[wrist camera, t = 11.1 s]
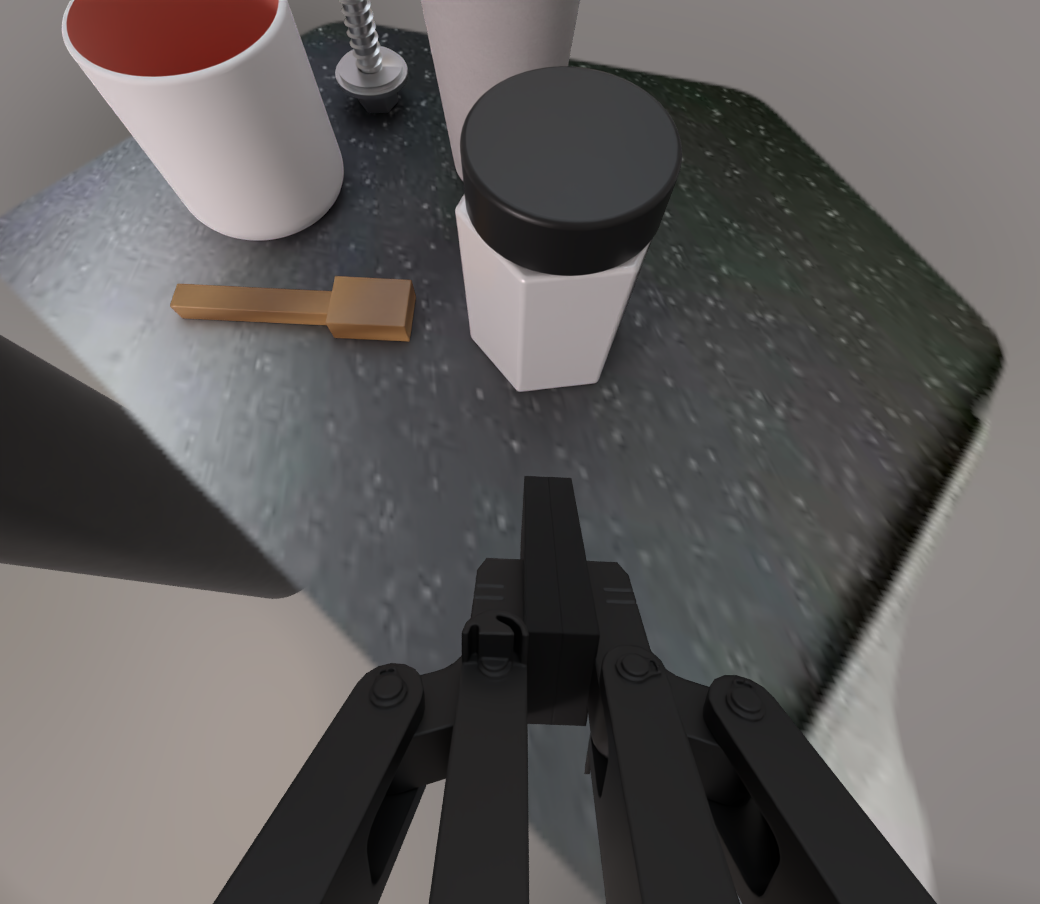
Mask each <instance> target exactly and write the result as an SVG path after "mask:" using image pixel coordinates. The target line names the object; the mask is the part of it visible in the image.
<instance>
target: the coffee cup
mask: <svg viewBox="0 0 1040 904" xmlns="http://www.w3.org/2000/svg"><path fill="white" fill-rule="evenodd" d="M579 2H580V0H421V4H422V9H423V13H424V18H425V23H426V28H427V32H428V37H429V42H430V47H431V52H432V57H433V61H434V66H435V71H436V76H437V81H438V86H439V90H440V95H441V100H442V105H443V110H444V115H445V119H446V124H447V129H448V134H449V139H450V144H451V149H452V153H453V158H454V163H455V168H456V171H457V173H458V175H459V177H460V178H461V179H462V181H463V174H462V164H461V154H460V136H461V131H462V126H463V124H464V121H465V118H466V117H467V115H468V113H469V111H470V110H471V108H472V107H473V105H474V104H475V103H476V101H477V100H478V99H479V98H480V97H481V96H482V95H483V94H484V93H485V92H486V91H488V90H489V89H490V88H492V87H493V86H495V85H496V84H498V83H499V82H501V81H503V80H505V79H507V78H509V77H512V76H514V75H517V74H520V73H523V72H526V71H530V70H534V69H540V68H546V67H559V66H568V62H569V57H570V51H571V46H572V40H573V34H574V30H575V24H576V19H577V14H578V8H579Z"/></svg>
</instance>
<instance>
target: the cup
mask: <svg viewBox="0 0 1040 904" xmlns="http://www.w3.org/2000/svg"><path fill="white" fill-rule="evenodd" d="M62 35H63V39H64V42H65V45H66V47H67V49H68V51H69V53H70V54H71V55H72V57H73V58H74V59H75V61H76V62H77V63H78V65H79V66H80V67H81V69H82V70H83V71H84V72H85V74H86V75H87V77H88V78H89V79H90V80H91V82H92V83H93V84H94V86H95V87H96V88H97V90H98V91H99V92H100V94H101V95H102V96H103V98H104V99H105V100H106V102H107V103H108V104H109V106H110V107H111V108H112V109H113V111H114V112H115V113H116V115H117V116H118V117H119V119H120V120H121V121H122V123H123V124H124V125H125V127H126V128H127V129H128V131H129V132H130V133H131V134H132V136H133V137H134V138H135V140H136V141H137V142H138V144H139V145H140V146H141V148H142V149H143V150H144V152H145V153H146V154H147V156H148V157H149V158H150V160H151V161H152V162H153V163H154V165H155V166H156V167H157V169H158V170H159V171H160V173H161V174H162V175H163V177H164V178H165V179H166V181H167V182H168V183H169V185H170V186H171V187H172V188H173V190H174V191H175V192H176V194H177V195H178V196H179V198H180V199H181V200H182V202H183V203H184V204H185V206H186V207H187V208H188V209H189V211H190V212H191V213H192V214H193V215H194V216H195V217H196V218H197V219H198V220H199V221H201V222H202V223H203V224H205V225H206V226H208V227H209V228H211V229H213V230H215V231H217V232H219V233H221V234H224V235H227V236H230V237H233V238H238V239H244V240H255V241H260V240H272V239H278V238H283V237H286V236H289V235H292V234H295V233H297V232H300V231H302V230H304V229H306V228H307V227H309V226H311V225H312V224H314V223H315V222H317V221H318V220H319V219H320V218H322V217H323V216H324V215H325V214H326V213H327V212H328V210H329V209H330V208H331V207H332V205H333V204H334V202H335V200H336V199H337V197H338V195H339V193H340V190H341V186H342V182H343V175H344V168H343V160H342V155H341V152H340V149H339V146H338V144H337V141H336V138H335V135H334V132H333V129H332V126H331V124H330V121H329V118H328V115H327V112H326V109H325V106H324V104H323V101H322V98H321V95H320V92H319V89H318V86H317V84H316V81H315V78H314V75H313V72H312V69H311V66H310V63H309V61H308V58H307V55H306V52H305V49H304V46H303V43H302V41H301V38H300V35H299V32H298V29H297V26H296V24H295V21H294V18H293V15H292V12H291V9H290V6H289V4H288V0H71V1H70V2H69V4H68V6H67V8H66V10H65V13H64V16H63V20H62Z"/></svg>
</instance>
